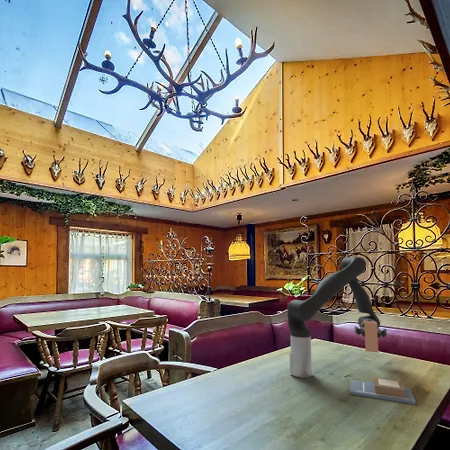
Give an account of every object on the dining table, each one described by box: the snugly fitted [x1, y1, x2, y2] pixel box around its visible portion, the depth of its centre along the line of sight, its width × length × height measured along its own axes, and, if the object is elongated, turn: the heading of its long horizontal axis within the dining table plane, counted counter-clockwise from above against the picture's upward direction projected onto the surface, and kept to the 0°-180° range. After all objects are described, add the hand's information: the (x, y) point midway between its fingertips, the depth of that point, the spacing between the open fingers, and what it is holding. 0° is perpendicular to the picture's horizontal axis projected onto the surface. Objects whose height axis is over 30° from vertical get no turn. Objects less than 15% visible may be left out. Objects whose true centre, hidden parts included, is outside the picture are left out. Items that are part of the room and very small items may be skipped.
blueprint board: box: [349, 377, 417, 406], centre depth 120 cm, size 22×14×4 cm, turn 66°
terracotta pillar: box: [364, 321, 379, 353], centre depth 134 cm, size 5×5×12 cm
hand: (371, 334), depth 132 cm, fingers closed on terracotta pillar, 5 cm apart
